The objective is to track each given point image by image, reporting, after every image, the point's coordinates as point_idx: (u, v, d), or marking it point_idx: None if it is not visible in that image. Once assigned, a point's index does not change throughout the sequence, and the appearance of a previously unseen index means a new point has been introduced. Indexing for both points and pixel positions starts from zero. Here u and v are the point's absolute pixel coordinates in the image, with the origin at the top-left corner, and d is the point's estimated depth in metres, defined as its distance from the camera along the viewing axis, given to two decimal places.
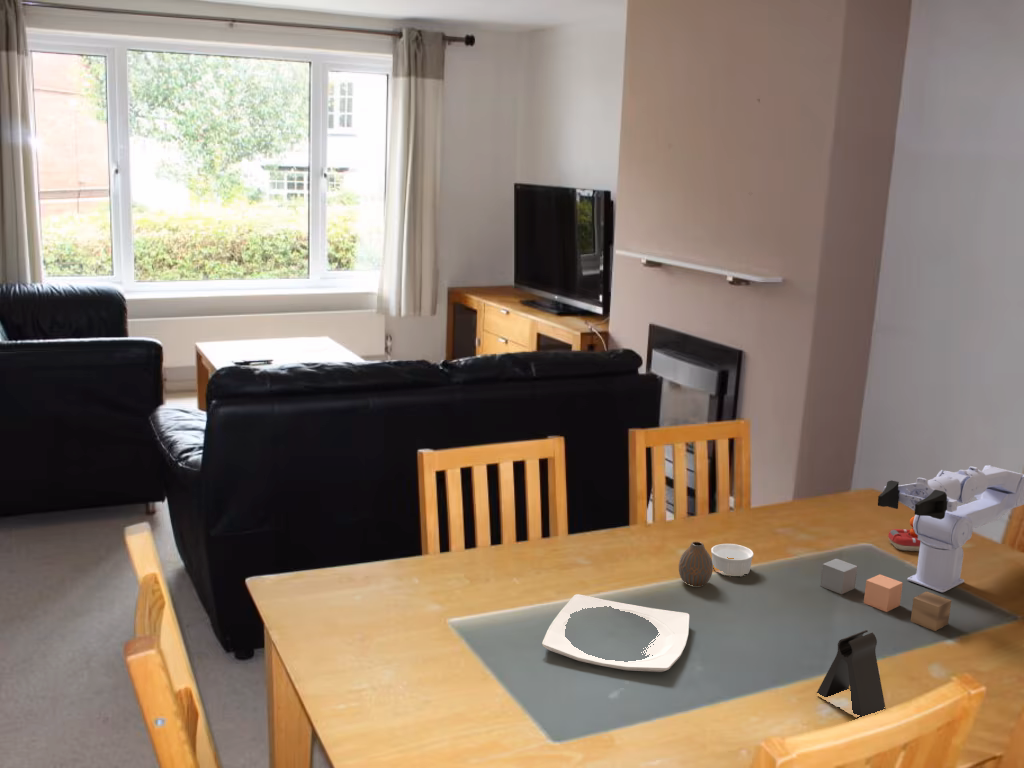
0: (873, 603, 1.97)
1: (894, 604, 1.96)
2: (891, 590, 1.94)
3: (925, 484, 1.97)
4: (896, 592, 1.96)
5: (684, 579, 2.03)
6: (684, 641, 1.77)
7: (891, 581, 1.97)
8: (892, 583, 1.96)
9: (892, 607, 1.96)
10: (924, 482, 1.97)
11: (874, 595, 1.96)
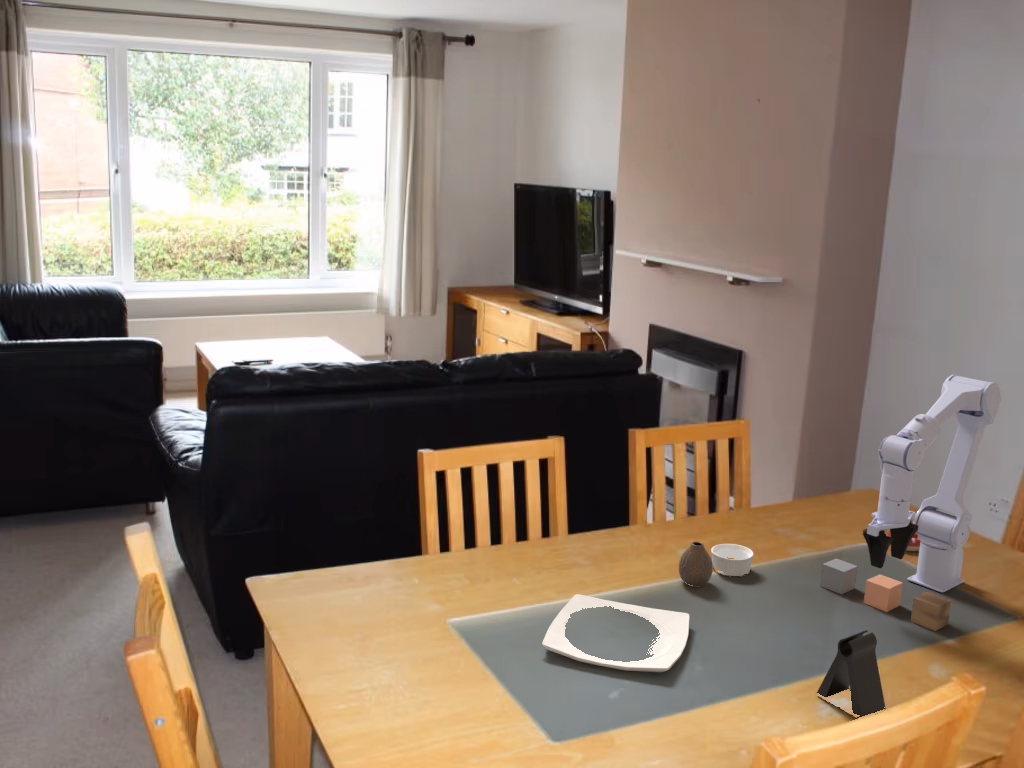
0: (873, 603, 1.97)
1: (894, 604, 1.96)
2: (891, 590, 1.94)
3: None
4: (896, 592, 1.96)
5: (684, 579, 2.03)
6: (684, 641, 1.77)
7: (891, 581, 1.97)
8: (892, 583, 1.96)
9: (892, 607, 1.96)
10: None
11: (874, 595, 1.96)
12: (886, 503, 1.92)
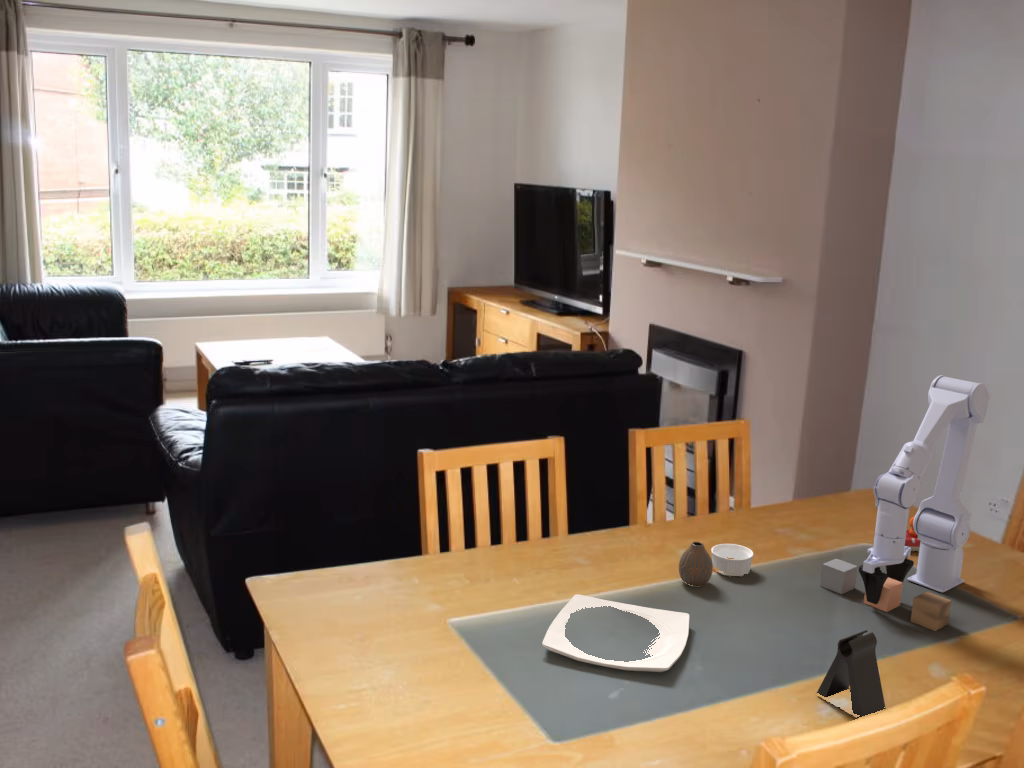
0: None
1: (894, 604, 1.96)
2: (891, 590, 1.94)
3: None
4: (896, 592, 1.96)
5: (684, 579, 2.03)
6: (684, 641, 1.77)
7: (891, 581, 1.97)
8: (892, 583, 1.96)
9: (892, 607, 1.96)
10: None
11: None
12: (882, 540, 1.93)
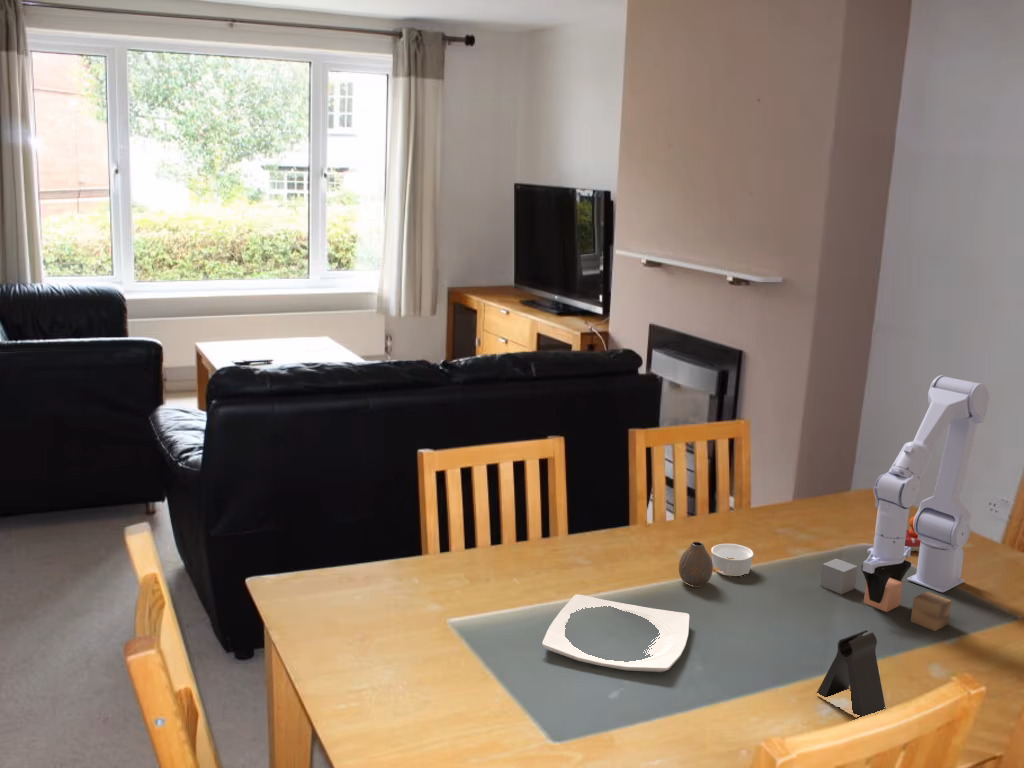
0: (873, 603, 1.97)
1: (894, 604, 1.96)
2: (891, 589, 1.94)
3: None
4: (896, 592, 1.96)
5: (684, 579, 2.03)
6: (684, 641, 1.77)
7: (891, 580, 1.97)
8: (892, 582, 1.96)
9: (892, 607, 1.96)
10: None
11: None
12: (882, 540, 1.93)
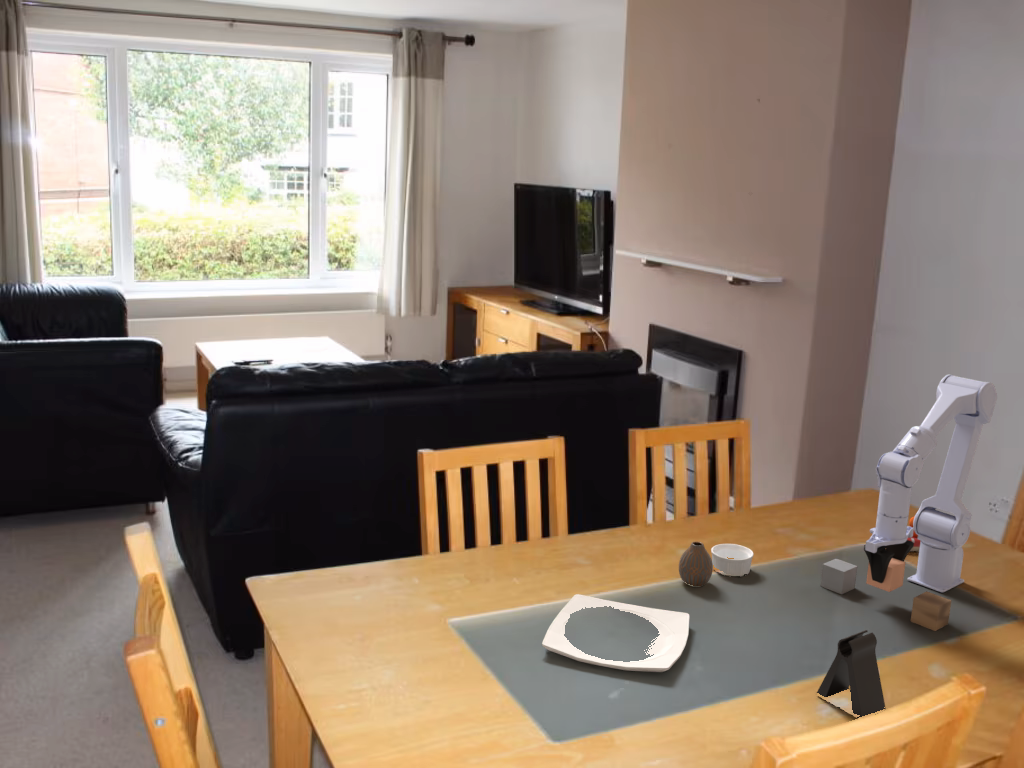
0: (875, 583, 1.96)
1: (897, 584, 1.95)
2: (894, 569, 1.93)
3: None
4: (899, 572, 1.95)
5: (684, 579, 2.03)
6: (684, 641, 1.77)
7: (894, 560, 1.96)
8: (894, 562, 1.95)
9: (895, 587, 1.95)
10: None
11: None
12: (884, 519, 1.92)
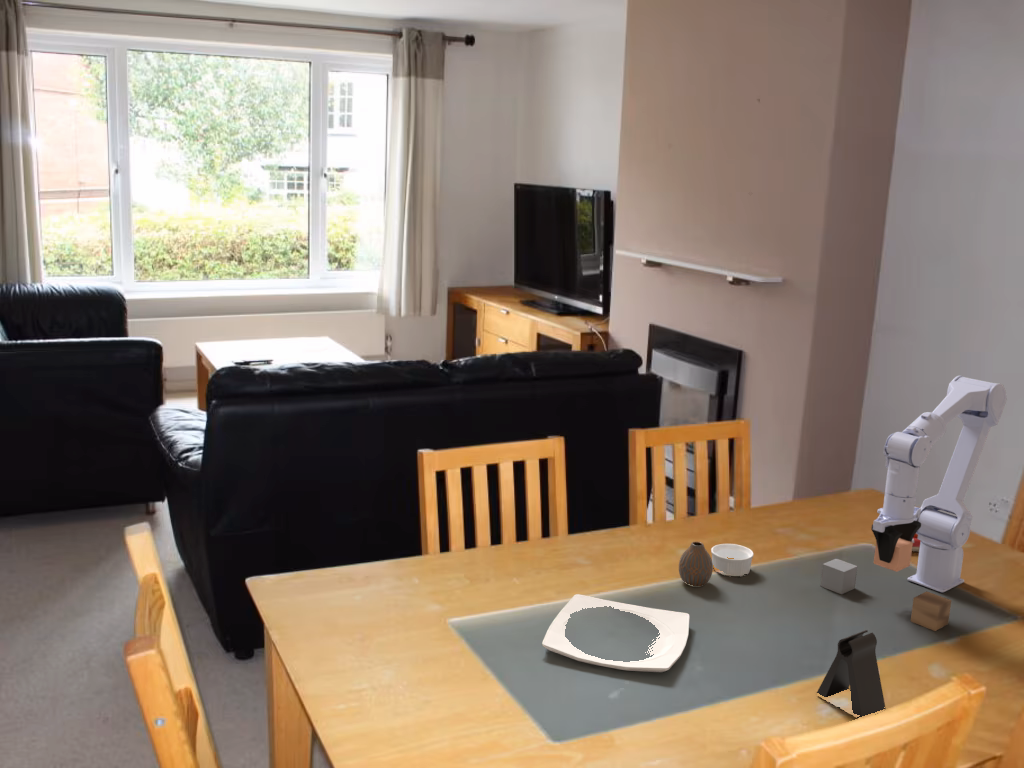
0: (883, 563, 1.96)
1: (904, 564, 1.96)
2: (901, 549, 1.94)
3: None
4: (906, 552, 1.95)
5: (684, 579, 2.03)
6: (684, 641, 1.77)
7: (901, 540, 1.97)
8: (902, 542, 1.96)
9: (902, 567, 1.95)
10: None
11: None
12: (892, 499, 1.93)
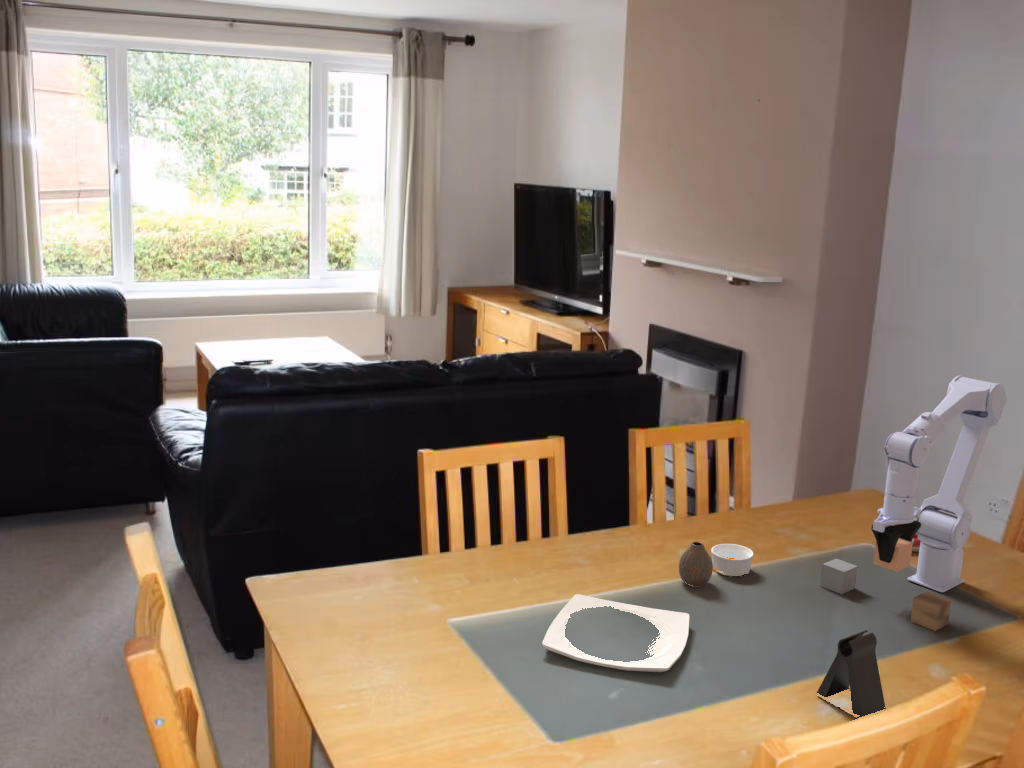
0: (883, 563, 1.96)
1: (904, 564, 1.96)
2: (901, 549, 1.94)
3: None
4: (906, 552, 1.95)
5: (684, 579, 2.03)
6: (684, 641, 1.77)
7: (901, 540, 1.97)
8: (902, 542, 1.96)
9: (902, 567, 1.95)
10: None
11: None
12: (892, 499, 1.93)
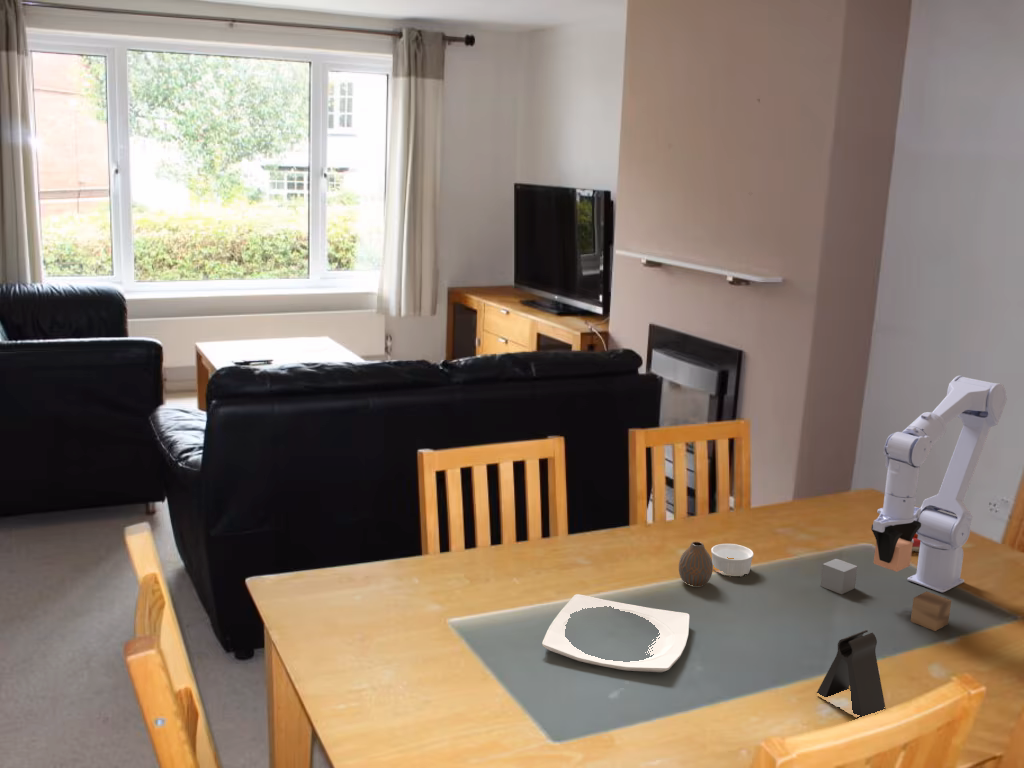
0: (883, 563, 1.96)
1: (904, 564, 1.96)
2: (901, 549, 1.94)
3: None
4: (906, 552, 1.95)
5: (684, 579, 2.03)
6: (684, 641, 1.77)
7: (901, 540, 1.97)
8: (902, 542, 1.96)
9: (902, 567, 1.95)
10: None
11: None
12: (892, 499, 1.93)
